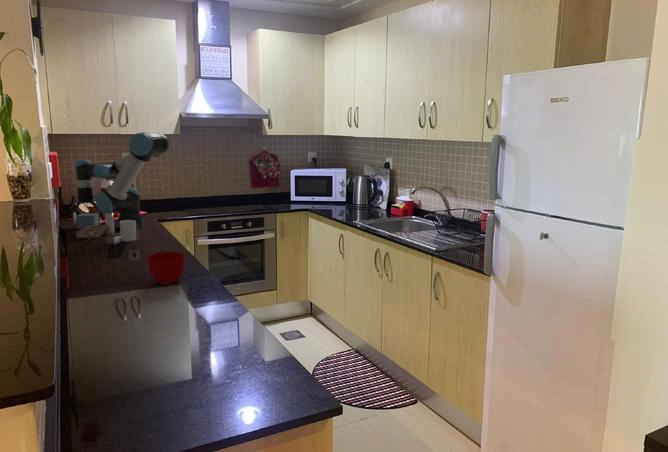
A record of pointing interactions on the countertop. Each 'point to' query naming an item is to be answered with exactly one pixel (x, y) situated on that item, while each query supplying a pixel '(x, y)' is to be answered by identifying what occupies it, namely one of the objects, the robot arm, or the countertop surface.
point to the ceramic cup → (166, 266)
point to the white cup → (128, 230)
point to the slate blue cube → (86, 220)
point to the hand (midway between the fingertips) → (87, 223)
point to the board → (91, 231)
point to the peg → (109, 224)
